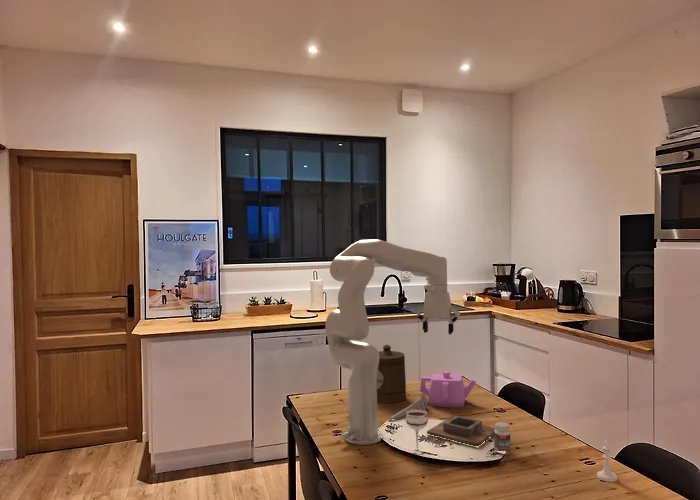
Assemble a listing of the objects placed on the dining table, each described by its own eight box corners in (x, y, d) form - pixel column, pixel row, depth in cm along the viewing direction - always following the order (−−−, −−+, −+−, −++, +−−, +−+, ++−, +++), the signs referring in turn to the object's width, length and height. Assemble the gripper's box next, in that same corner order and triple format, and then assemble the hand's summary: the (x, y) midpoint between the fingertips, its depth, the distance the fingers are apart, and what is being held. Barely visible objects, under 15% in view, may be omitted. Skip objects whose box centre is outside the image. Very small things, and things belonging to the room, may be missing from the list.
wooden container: (366, 394, 216) (365, 342, 216) (400, 391, 219) (399, 340, 218) (374, 404, 201) (373, 349, 201) (410, 401, 204) (409, 347, 204)
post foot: (478, 448, 157) (477, 435, 156) (427, 435, 168) (426, 423, 168) (498, 432, 169) (498, 420, 169) (449, 421, 180) (449, 410, 180)
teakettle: (417, 401, 205) (416, 370, 205) (448, 393, 214) (447, 364, 214) (446, 412, 191) (445, 380, 190) (478, 404, 200) (477, 373, 200)
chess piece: (610, 473, 138) (610, 436, 138) (621, 481, 133) (620, 443, 133) (593, 473, 138) (592, 437, 138) (602, 482, 133) (602, 444, 133)
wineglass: (431, 449, 156) (431, 411, 156) (423, 457, 150) (422, 417, 150) (411, 445, 160) (410, 407, 160) (402, 453, 154) (401, 414, 154)
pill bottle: (499, 455, 151) (499, 427, 151) (491, 449, 155) (490, 422, 155) (513, 453, 152) (513, 426, 152) (504, 447, 157) (504, 420, 157)
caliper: (425, 408, 196) (424, 392, 196) (427, 409, 195) (427, 393, 195) (388, 421, 182) (387, 404, 182) (390, 422, 182) (389, 405, 182)
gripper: (412, 289, 195) (413, 333, 195) (457, 290, 187) (458, 336, 188) (418, 287, 202) (419, 330, 202) (461, 288, 194) (462, 332, 194)
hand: (438, 333), depth 195 cm, fingers open, 9 cm apart
